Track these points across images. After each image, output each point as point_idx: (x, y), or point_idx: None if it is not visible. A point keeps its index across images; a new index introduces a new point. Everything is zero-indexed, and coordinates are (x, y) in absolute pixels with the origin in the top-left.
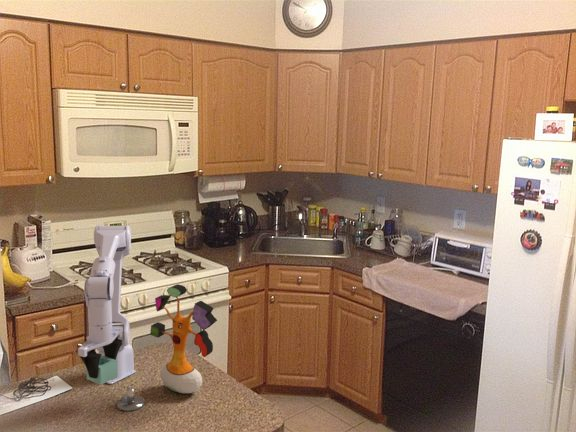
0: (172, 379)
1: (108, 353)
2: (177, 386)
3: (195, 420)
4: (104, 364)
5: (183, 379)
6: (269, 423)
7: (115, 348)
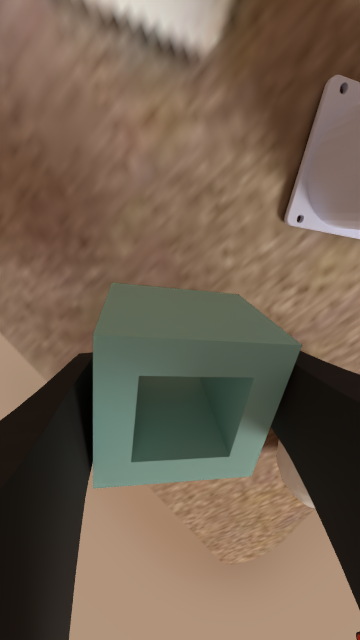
0: (294, 467)
1: (311, 420)
2: (280, 461)
3: (194, 499)
4: (157, 468)
5: (297, 491)
6: (233, 559)
7: (340, 553)
